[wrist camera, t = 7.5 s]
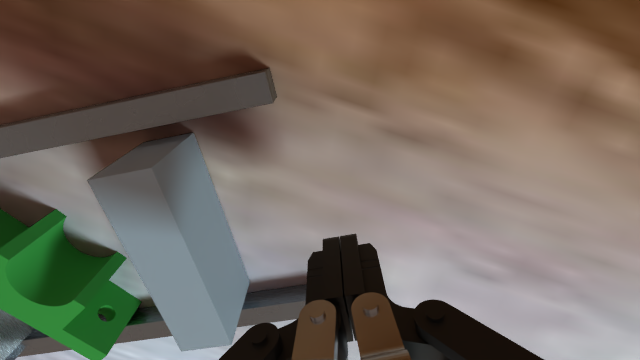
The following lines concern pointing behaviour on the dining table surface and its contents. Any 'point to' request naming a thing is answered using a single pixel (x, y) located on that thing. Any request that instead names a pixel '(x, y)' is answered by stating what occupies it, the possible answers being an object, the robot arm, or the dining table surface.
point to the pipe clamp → (61, 286)
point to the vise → (126, 116)
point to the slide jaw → (177, 238)
